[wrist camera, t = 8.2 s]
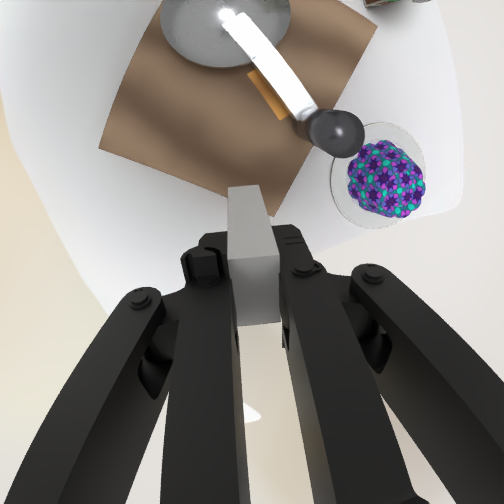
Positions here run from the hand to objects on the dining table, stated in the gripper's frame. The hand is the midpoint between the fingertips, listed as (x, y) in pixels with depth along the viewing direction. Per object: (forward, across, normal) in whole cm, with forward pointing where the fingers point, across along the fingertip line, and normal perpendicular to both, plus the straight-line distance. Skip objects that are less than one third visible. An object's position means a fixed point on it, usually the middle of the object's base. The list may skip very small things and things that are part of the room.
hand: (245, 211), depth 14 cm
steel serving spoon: (+11, +2, +10) cm, 15 cm away
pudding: (+14, +15, -3) cm, 21 cm away
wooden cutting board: (+14, 0, +8) cm, 16 cm away
